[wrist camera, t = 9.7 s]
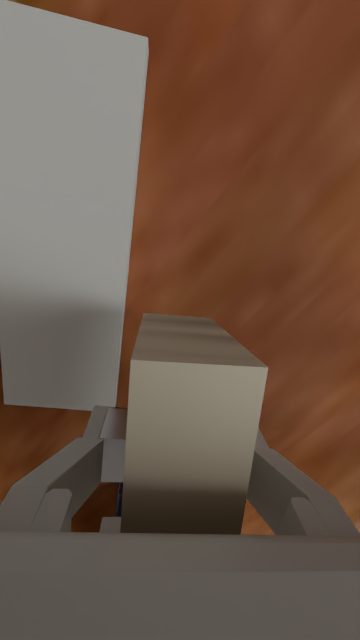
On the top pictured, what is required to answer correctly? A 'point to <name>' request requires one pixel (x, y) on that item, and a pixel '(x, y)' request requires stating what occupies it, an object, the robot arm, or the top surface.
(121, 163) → the rest mat
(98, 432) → the robot arm
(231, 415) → the grey elongated block
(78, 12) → the top surface
